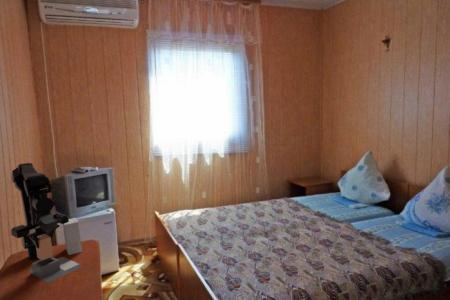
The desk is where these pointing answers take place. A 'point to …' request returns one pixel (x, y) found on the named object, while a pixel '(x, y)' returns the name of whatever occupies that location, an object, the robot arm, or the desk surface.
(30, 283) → the desk surface
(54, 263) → the socket block
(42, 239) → the plug
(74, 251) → the skincare box
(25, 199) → the robot arm
